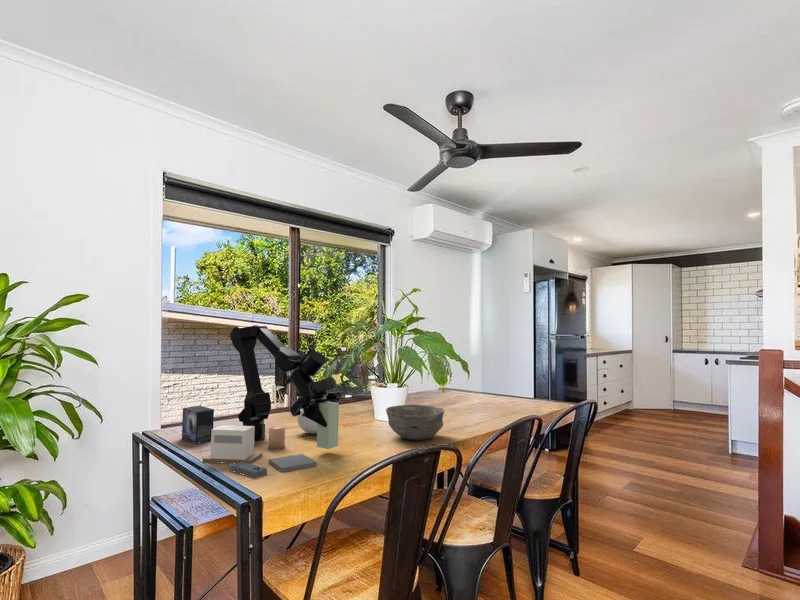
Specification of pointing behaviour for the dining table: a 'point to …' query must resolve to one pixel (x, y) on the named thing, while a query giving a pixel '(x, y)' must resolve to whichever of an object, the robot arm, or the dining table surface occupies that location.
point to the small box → (197, 423)
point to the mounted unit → (232, 445)
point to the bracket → (248, 469)
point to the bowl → (415, 421)
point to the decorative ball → (307, 424)
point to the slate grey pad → (292, 462)
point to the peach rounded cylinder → (276, 437)
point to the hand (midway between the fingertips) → (331, 424)
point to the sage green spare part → (328, 425)
